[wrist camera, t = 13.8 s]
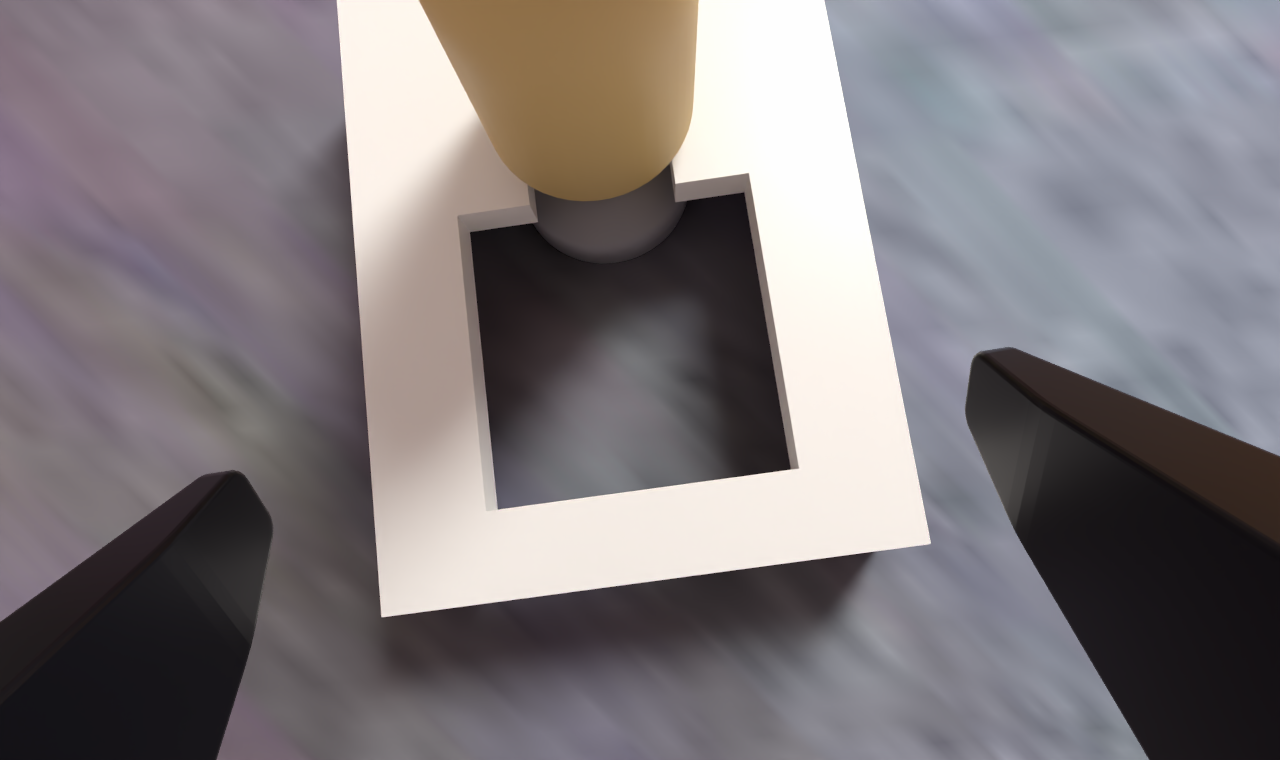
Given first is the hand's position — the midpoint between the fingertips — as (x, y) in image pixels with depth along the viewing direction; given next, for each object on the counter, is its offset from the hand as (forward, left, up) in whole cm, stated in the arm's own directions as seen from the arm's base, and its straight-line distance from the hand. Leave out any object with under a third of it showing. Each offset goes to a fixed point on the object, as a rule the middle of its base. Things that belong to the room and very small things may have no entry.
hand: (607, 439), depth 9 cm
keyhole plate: (+4, -1, -9) cm, 10 cm away
